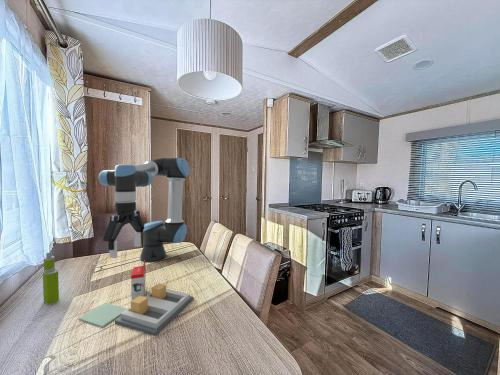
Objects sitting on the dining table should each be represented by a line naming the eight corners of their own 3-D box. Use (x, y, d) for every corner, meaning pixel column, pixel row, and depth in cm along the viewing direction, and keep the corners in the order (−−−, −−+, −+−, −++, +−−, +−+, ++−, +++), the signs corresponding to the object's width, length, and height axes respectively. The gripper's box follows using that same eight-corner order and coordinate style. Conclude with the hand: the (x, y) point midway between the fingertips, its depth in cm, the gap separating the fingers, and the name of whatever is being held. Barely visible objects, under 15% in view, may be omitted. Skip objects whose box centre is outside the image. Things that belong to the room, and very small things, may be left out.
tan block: (158, 294, 90) (158, 283, 90) (166, 296, 89) (166, 284, 89) (151, 299, 86) (151, 287, 86) (159, 301, 85) (159, 289, 85)
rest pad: (105, 304, 85) (105, 302, 85) (127, 310, 81) (127, 308, 81) (78, 319, 76) (78, 318, 76) (102, 327, 72) (102, 326, 72)
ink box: (133, 292, 94) (133, 260, 93) (145, 290, 96) (145, 258, 95) (131, 302, 86) (130, 268, 86) (144, 300, 88) (144, 266, 88)
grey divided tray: (159, 291, 95) (159, 284, 95) (193, 299, 89) (193, 292, 89) (114, 323, 74) (114, 314, 74) (155, 336, 68) (155, 326, 68)
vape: (53, 296, 90) (52, 251, 89) (60, 300, 87) (58, 253, 86) (42, 301, 87) (40, 253, 86) (48, 305, 84) (46, 256, 83)
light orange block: (139, 308, 81) (139, 295, 80) (147, 310, 79) (147, 297, 79) (130, 314, 77) (130, 301, 77) (139, 316, 76) (139, 303, 75)
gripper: (138, 198, 100) (138, 242, 101) (90, 205, 76) (91, 262, 77) (152, 199, 99) (152, 243, 100) (108, 205, 75) (109, 264, 75)
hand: (126, 251), depth 88 cm, fingers open, 13 cm apart
